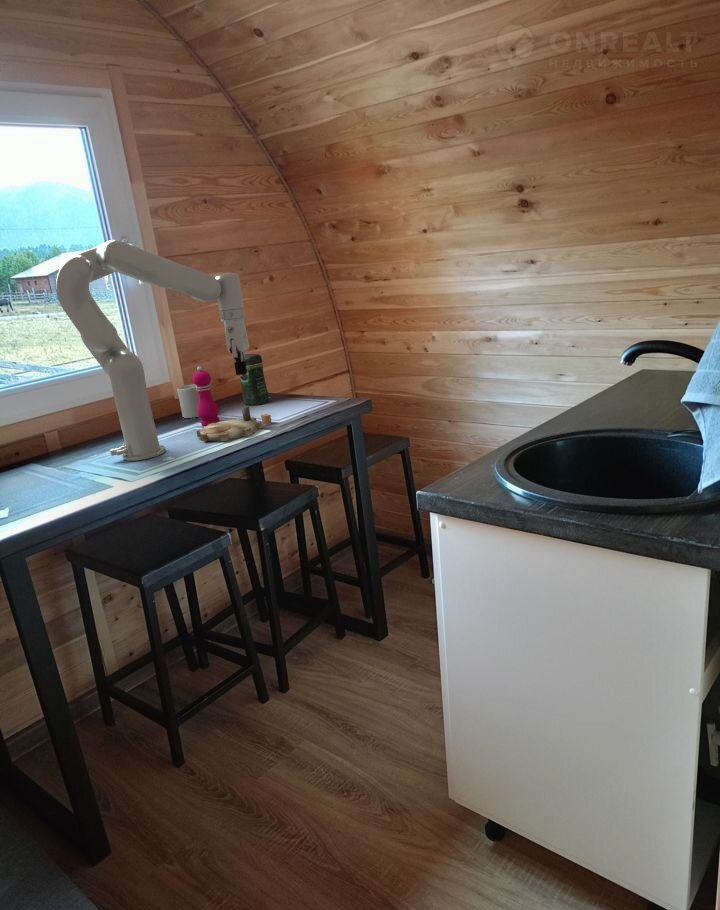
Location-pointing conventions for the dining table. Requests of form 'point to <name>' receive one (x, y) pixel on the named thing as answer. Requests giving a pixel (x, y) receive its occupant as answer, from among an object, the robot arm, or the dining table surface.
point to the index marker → (266, 419)
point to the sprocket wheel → (230, 428)
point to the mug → (188, 400)
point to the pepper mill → (205, 398)
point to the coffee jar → (254, 381)
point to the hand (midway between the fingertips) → (241, 374)
